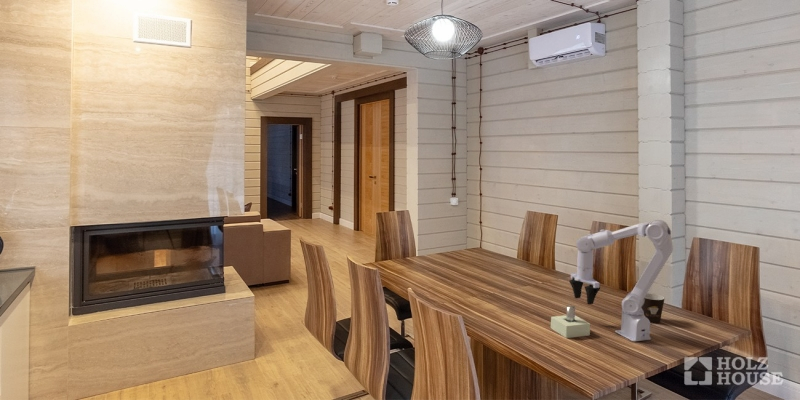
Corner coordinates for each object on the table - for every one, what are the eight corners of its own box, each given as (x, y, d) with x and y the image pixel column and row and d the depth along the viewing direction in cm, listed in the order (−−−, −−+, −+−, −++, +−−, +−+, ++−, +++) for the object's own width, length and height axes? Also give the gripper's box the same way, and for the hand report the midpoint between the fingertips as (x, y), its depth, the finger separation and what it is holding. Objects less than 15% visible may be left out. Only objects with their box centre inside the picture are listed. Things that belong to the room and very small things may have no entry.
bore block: (589, 335, 171) (590, 323, 171) (566, 338, 169) (566, 326, 168) (573, 325, 181) (573, 314, 180) (550, 328, 178) (551, 316, 178)
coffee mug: (665, 320, 186) (667, 296, 185) (659, 326, 180) (661, 301, 179) (634, 313, 194) (636, 290, 193) (628, 318, 188) (629, 295, 187)
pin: (576, 328, 174) (576, 307, 173) (569, 329, 173) (570, 308, 172) (570, 325, 177) (571, 305, 176) (564, 326, 176) (564, 306, 175)
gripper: (564, 263, 185) (563, 296, 186) (588, 272, 171) (587, 307, 172) (579, 262, 187) (578, 294, 188) (604, 270, 173) (603, 305, 174)
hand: (583, 300), depth 180 cm, fingers open, 7 cm apart
